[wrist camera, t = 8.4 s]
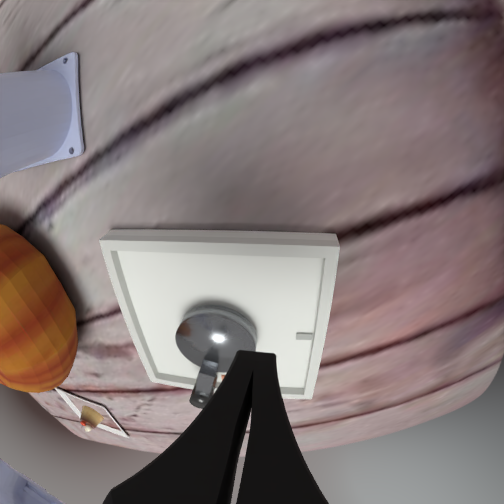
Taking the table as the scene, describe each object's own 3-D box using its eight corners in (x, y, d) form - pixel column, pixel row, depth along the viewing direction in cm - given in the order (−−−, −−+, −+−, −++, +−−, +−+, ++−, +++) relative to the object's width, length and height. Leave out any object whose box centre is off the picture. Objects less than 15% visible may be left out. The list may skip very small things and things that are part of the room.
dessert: (56, 383, 38) (44, 401, 33) (107, 402, 36) (95, 425, 32) (84, 416, 43) (75, 433, 39) (131, 434, 42) (123, 454, 38)
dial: (184, 294, 20) (169, 324, 17) (267, 318, 20) (262, 351, 17) (176, 370, 24) (165, 397, 22) (237, 388, 25) (232, 416, 22)
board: (156, 368, 27) (151, 381, 26) (111, 229, 20) (98, 240, 18) (311, 384, 25) (311, 399, 24) (335, 233, 18) (339, 246, 16)
